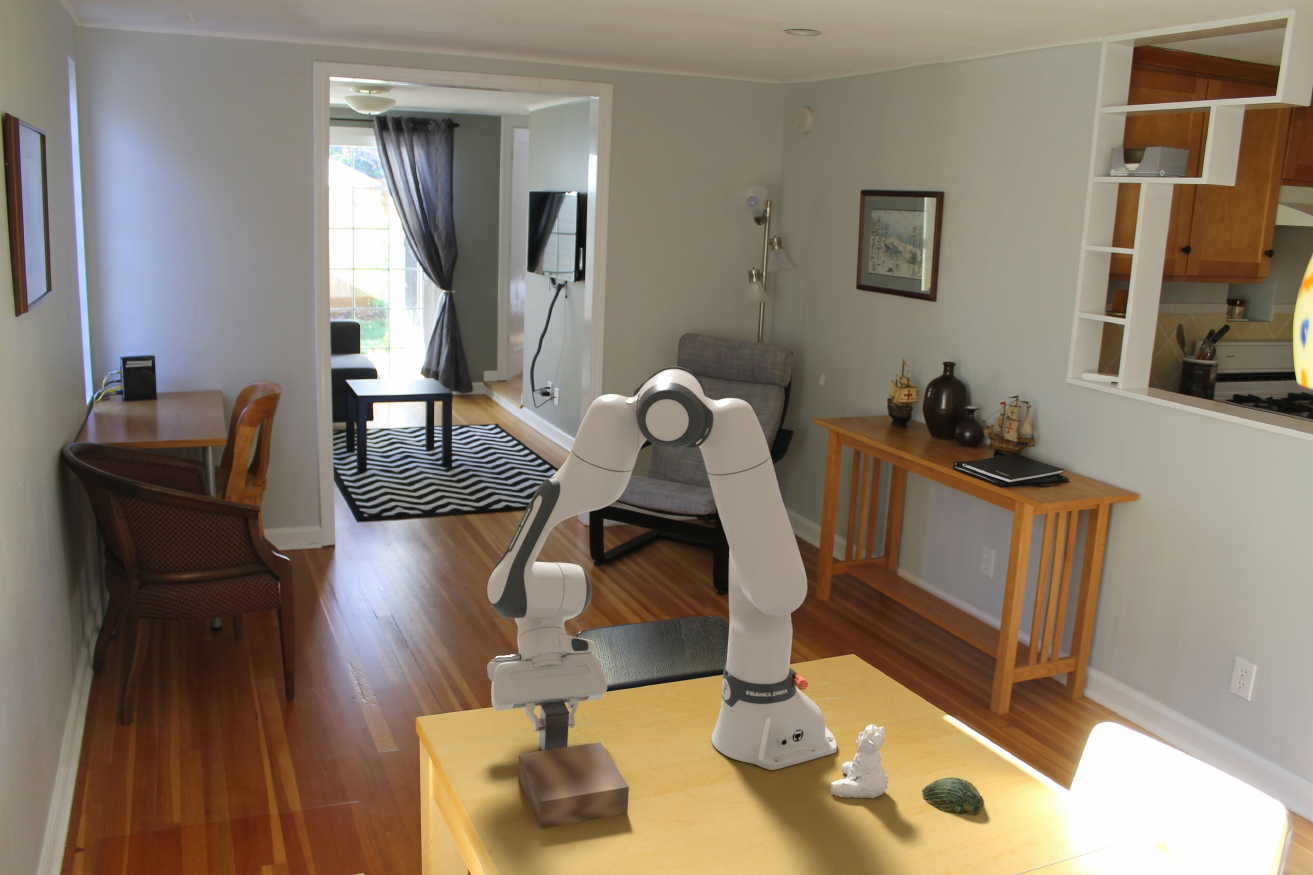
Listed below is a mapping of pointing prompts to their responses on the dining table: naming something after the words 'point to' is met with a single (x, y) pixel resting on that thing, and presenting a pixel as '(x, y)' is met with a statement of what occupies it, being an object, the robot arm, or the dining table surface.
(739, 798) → the dining table surface
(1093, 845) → the dining table surface
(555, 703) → the grey tin
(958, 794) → the seashell
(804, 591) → the robot arm
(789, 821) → the dining table surface
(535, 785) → the walnut block
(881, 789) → the seated beast figurine
